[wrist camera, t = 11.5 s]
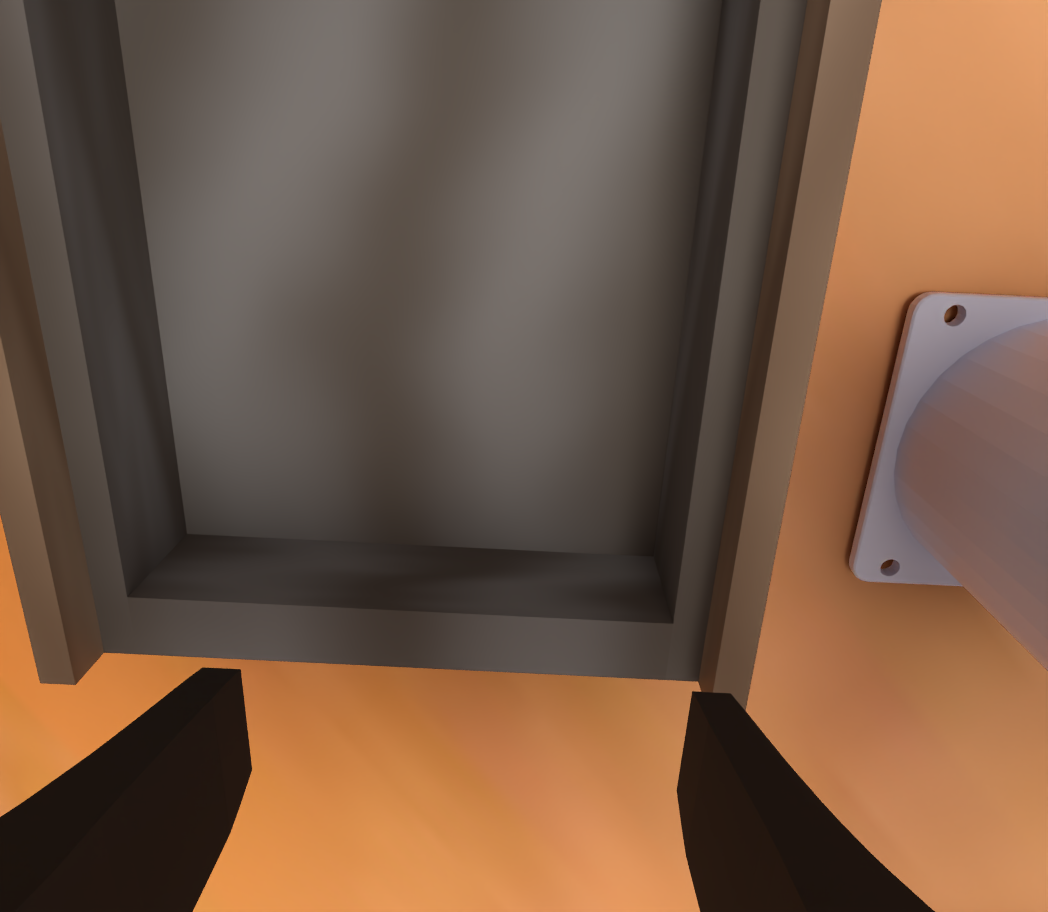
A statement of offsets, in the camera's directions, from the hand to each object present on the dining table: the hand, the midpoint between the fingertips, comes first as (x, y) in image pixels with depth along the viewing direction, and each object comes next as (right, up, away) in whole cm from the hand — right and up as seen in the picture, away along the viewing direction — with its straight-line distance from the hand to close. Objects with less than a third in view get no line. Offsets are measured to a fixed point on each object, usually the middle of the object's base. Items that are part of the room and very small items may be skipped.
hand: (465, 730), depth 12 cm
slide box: (-2, +9, +7) cm, 11 cm away
